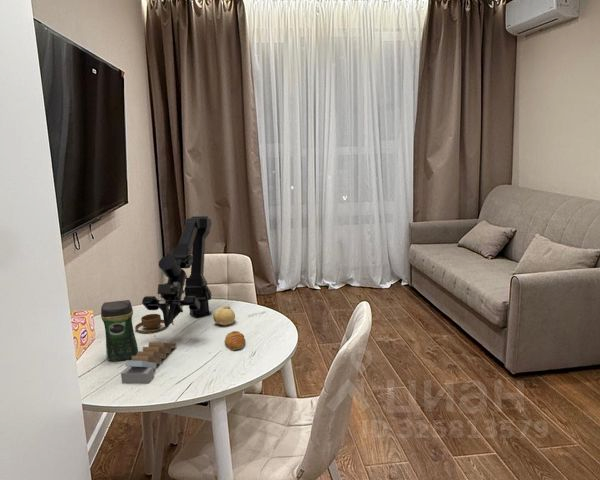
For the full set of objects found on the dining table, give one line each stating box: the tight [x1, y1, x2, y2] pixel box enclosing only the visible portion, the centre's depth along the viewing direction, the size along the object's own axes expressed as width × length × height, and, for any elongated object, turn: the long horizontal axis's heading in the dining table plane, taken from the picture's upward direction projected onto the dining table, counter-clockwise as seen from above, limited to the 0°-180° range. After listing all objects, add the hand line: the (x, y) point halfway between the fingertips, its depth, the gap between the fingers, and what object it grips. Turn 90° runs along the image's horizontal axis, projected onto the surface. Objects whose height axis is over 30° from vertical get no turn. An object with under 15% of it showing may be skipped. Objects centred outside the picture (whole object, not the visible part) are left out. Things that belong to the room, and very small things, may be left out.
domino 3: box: [136, 350, 167, 360], centre depth 165 cm, size 2×5×10 cm
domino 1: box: [124, 360, 158, 370], centre depth 157 cm, size 2×5×10 cm
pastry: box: [223, 330, 246, 351], centre depth 176 cm, size 9×7×4 cm
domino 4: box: [142, 346, 172, 354], centre depth 169 cm, size 2×5×10 cm
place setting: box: [134, 313, 175, 335], centre depth 200 cm, size 18×20×6 cm
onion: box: [212, 304, 236, 327], centre depth 197 cm, size 8×8×7 cm
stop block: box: [120, 366, 155, 384], centre depth 155 cm, size 4×8×3 cm, turn 82°
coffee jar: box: [100, 299, 139, 362], centre depth 171 cm, size 10×8×19 cm
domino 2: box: [130, 355, 162, 365], centre depth 161 cm, size 2×5×10 cm
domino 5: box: [148, 341, 177, 349], centre depth 173 cm, size 2×5×10 cm
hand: (166, 326), depth 176 cm, fingers closed
